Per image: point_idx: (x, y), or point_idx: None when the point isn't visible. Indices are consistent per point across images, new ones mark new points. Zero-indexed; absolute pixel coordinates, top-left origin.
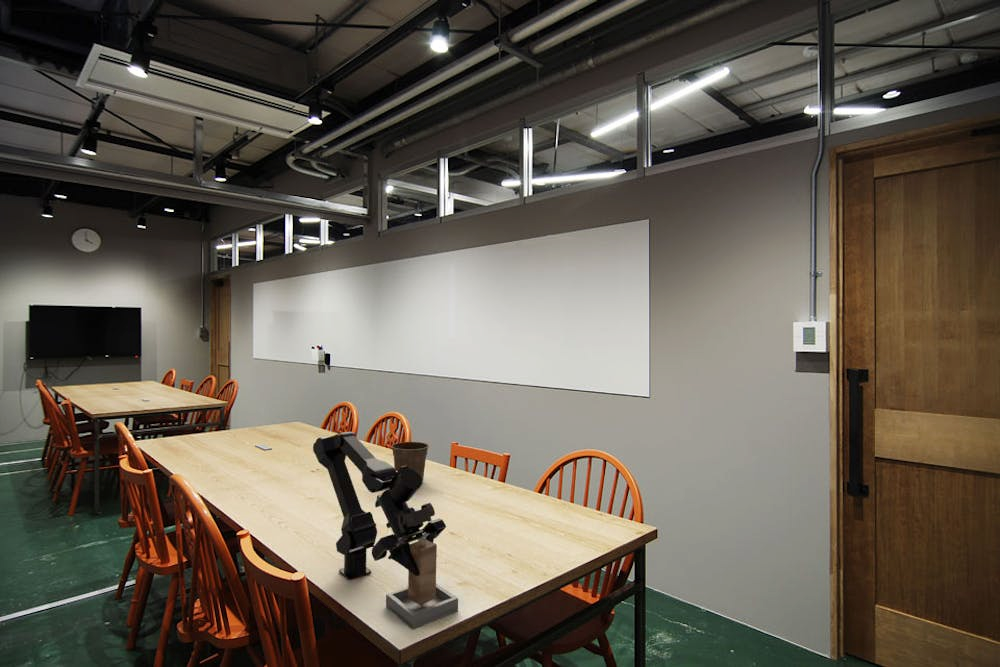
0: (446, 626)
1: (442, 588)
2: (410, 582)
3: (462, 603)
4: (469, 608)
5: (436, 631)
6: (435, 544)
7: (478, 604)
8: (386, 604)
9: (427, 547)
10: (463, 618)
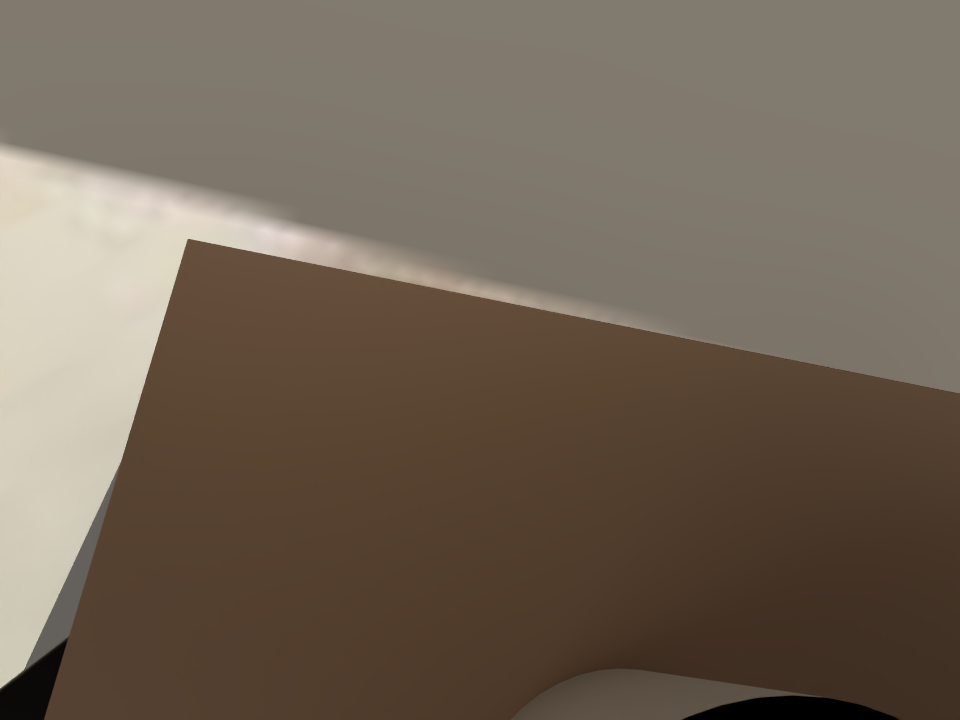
0: (475, 289)
1: (83, 579)
2: None
3: (61, 381)
4: (119, 276)
5: (573, 315)
6: (237, 278)
7: (4, 243)
8: None
9: (732, 379)
10: (299, 238)
